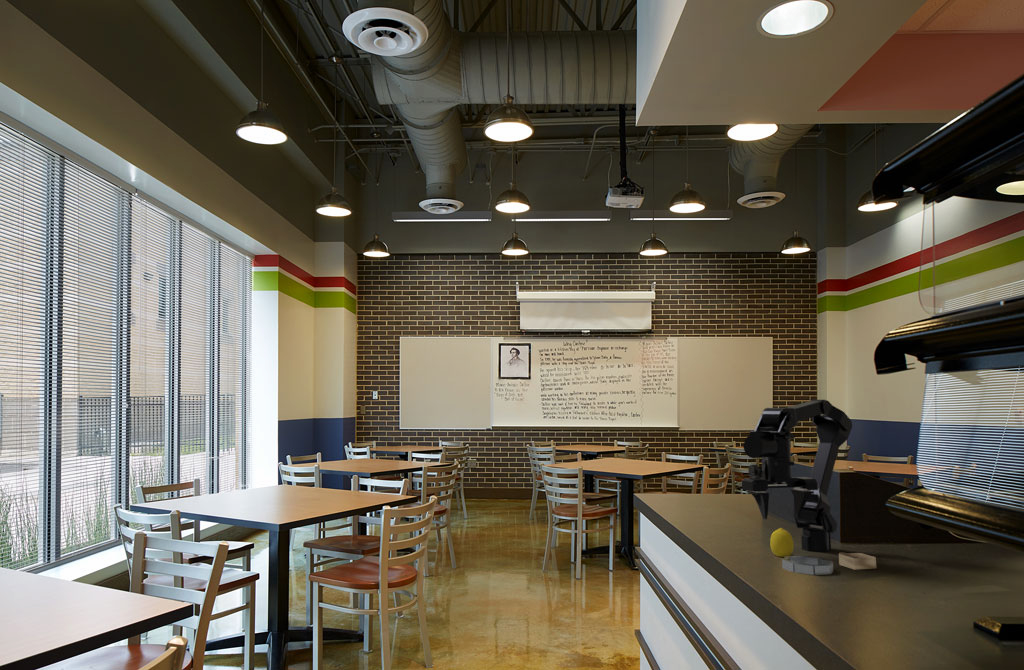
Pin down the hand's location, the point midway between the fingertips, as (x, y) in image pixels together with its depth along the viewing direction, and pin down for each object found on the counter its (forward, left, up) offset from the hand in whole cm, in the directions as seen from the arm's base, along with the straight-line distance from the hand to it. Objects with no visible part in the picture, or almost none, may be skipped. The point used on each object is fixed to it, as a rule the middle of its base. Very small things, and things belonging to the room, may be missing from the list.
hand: (781, 518), depth 172 cm
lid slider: (-10, +14, -9) cm, 20 cm away
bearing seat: (+3, +14, -9) cm, 17 cm away
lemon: (0, 0, -11) cm, 11 cm away
